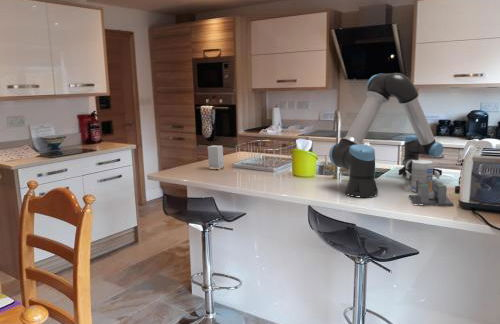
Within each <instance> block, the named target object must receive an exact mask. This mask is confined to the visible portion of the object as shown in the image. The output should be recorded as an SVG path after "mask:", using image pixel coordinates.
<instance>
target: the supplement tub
mask: <svg viewBox="0 0 500 324" xmlns="http://www.w3.org/2000/svg"><path fill="white" fill-rule="evenodd" d="M433 168H434V162H433V161H432V160H426V159H425V160H424V159H419V160H415V161H412V174H411V176H410V177H411V180H410V181H411V183H410V190H411V191H412V192H414V193H415V189H416V179H431V180H434V175H433Z"/></svg>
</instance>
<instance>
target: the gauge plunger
mask: <svg viewBox="0 0 500 324" xmlns="http://www.w3.org/2000/svg"><path fill="white" fill-rule="evenodd" d="M418 183H426V184H427V185H428V186H429V199H434V186H435V183H438V179H433V180H431V179H416V189H415V192H414V193H415V194H417V192H418Z"/></svg>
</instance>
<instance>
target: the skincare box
mask: <svg viewBox="0 0 500 324" xmlns="http://www.w3.org/2000/svg"><path fill="white" fill-rule="evenodd" d="M207 157H208V168H209V167H214V168H220V167H223V166H224V167H225V160H224V147H223V145H213V144H212V145H210V146H209V145H208V146H207Z"/></svg>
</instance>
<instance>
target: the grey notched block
mask: <svg viewBox="0 0 500 324" xmlns="http://www.w3.org/2000/svg"><path fill="white" fill-rule="evenodd" d="M447 189H448V188H447V186H446V185H445V184H444V183H442V182H437V183H435V186H434V199H429V186H428V185H427V184H426V183H418V192H417V193H416V194H417V195H415V194H409V195H408V199H409V198H410V199H409V201H410V200H411V201H412V202H411V201H410V202H411V204H412V203H413V204H423V205H422V206H424V205H439V206H438V207H454V202H453V201H451V200H450V198H449V197H448V196H447ZM413 204H412V205H413ZM440 205H441V206H440Z"/></svg>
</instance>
